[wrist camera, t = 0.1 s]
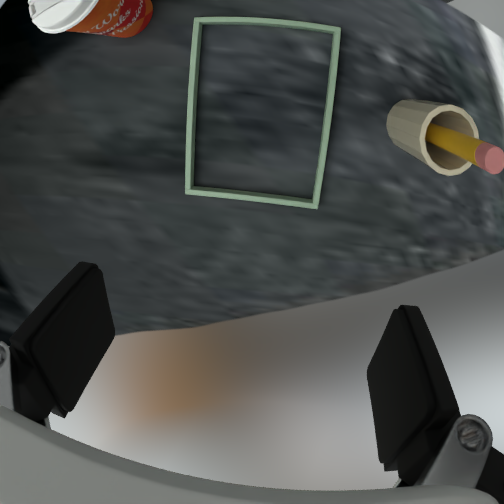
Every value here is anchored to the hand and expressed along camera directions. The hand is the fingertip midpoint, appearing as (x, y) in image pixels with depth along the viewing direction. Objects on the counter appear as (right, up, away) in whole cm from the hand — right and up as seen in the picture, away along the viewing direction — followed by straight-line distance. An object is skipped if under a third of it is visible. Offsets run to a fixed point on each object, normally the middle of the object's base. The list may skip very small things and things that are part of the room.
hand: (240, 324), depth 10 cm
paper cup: (-13, +28, +16) cm, 35 cm away
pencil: (+17, +15, +19) cm, 30 cm away
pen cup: (+17, +16, +19) cm, 30 cm away
